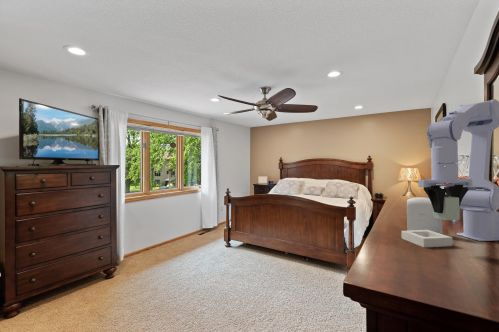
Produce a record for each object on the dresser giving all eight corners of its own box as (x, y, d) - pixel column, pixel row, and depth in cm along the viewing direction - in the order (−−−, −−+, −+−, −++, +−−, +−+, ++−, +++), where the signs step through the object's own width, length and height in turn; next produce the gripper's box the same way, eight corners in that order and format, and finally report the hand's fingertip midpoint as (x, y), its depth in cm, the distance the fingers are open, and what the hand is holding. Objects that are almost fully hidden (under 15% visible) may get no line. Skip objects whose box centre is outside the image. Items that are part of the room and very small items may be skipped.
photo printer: (405, 231, 88) (404, 196, 88) (409, 229, 91) (408, 196, 91) (440, 236, 80) (439, 199, 80) (444, 234, 83) (443, 198, 83)
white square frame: (427, 237, 80) (427, 229, 80) (452, 246, 71) (452, 237, 71) (401, 238, 79) (401, 230, 79) (423, 247, 70) (423, 238, 70)
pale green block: (446, 216, 70) (445, 193, 70) (459, 219, 66) (458, 194, 66) (433, 217, 70) (432, 193, 70) (445, 220, 66) (445, 194, 66)
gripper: (455, 163, 73) (456, 209, 73) (409, 164, 71) (410, 210, 71) (479, 163, 66) (480, 213, 66) (429, 163, 64) (430, 215, 64)
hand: (445, 212), depth 68 cm, fingers closed on pale green block, 4 cm apart
